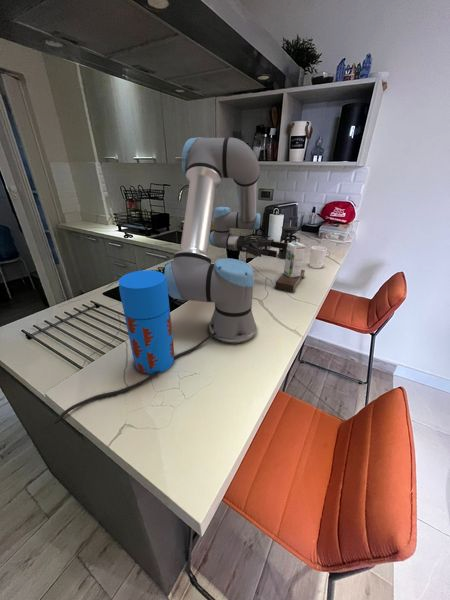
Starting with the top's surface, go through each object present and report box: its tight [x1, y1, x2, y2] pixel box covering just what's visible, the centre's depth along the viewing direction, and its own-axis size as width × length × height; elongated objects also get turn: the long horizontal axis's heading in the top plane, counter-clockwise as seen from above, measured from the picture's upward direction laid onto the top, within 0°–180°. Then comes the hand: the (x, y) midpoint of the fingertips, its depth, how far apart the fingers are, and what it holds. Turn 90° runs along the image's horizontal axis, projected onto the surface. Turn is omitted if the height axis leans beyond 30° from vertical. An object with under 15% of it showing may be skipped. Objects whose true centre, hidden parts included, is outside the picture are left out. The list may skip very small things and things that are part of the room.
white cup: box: [309, 245, 328, 269], centre depth 136 cm, size 8×8×10 cm
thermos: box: [118, 269, 175, 375], centre depth 66 cm, size 11×11×25 cm
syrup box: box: [283, 241, 306, 278], centre depth 115 cm, size 6×6×14 cm
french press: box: [277, 215, 301, 260], centre depth 146 cm, size 12×9×23 cm
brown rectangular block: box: [274, 269, 306, 294], centre depth 118 cm, size 20×8×4 cm, turn 151°
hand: (281, 250), depth 115 cm, fingers open, 13 cm apart
